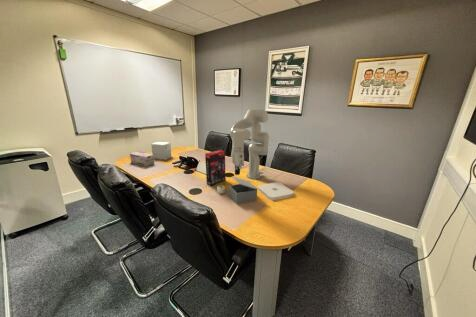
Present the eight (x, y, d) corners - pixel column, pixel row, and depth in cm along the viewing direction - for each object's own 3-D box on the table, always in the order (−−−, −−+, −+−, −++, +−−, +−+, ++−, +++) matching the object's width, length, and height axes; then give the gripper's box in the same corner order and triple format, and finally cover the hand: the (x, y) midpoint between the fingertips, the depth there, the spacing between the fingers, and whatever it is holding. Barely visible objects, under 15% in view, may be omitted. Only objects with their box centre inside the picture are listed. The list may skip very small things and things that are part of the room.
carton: (247, 191, 153) (248, 182, 150) (256, 199, 140) (257, 189, 138) (229, 195, 146) (229, 185, 144) (236, 204, 134) (236, 193, 132)
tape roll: (223, 190, 155) (223, 184, 153) (225, 193, 149) (226, 187, 148) (216, 191, 152) (216, 185, 151) (218, 194, 147) (218, 189, 146)
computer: (256, 188, 159) (256, 185, 158) (278, 184, 167) (278, 181, 167) (270, 201, 140) (270, 198, 139) (295, 196, 148) (295, 192, 147)
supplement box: (171, 156, 237) (170, 142, 231) (165, 160, 224) (164, 144, 219) (159, 155, 240) (157, 141, 235) (152, 158, 228) (150, 143, 223)
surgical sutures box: (154, 164, 209) (153, 154, 206) (145, 167, 201) (144, 157, 198) (140, 160, 222) (139, 151, 218) (131, 162, 213) (129, 153, 210)
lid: (248, 182, 150) (248, 181, 150) (257, 189, 138) (257, 188, 138) (231, 177, 143) (232, 176, 143) (239, 184, 131) (240, 183, 131)
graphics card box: (210, 186, 160) (210, 155, 152) (205, 184, 164) (204, 153, 156) (225, 180, 172) (225, 151, 164) (220, 178, 176) (220, 149, 168)
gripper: (248, 151, 125) (246, 177, 130) (238, 146, 138) (237, 170, 143) (237, 152, 122) (236, 178, 127) (228, 146, 135) (228, 171, 140)
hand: (237, 174), depth 135 cm, fingers closed
